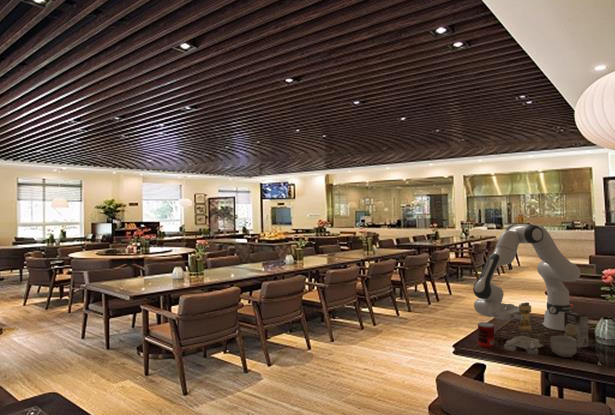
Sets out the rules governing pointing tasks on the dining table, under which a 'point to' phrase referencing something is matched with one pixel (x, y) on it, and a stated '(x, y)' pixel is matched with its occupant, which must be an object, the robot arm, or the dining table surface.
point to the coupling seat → (521, 343)
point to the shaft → (531, 348)
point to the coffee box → (576, 327)
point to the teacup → (563, 346)
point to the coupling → (525, 317)
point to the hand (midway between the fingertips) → (526, 317)
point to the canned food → (486, 334)
